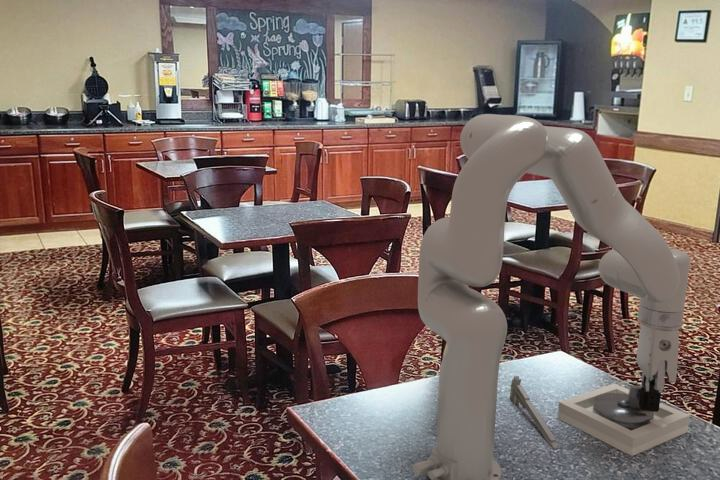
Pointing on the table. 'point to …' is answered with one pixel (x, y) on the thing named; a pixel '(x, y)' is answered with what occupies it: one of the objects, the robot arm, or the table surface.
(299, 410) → the table surface
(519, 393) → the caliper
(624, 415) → the grey round piece
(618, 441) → the tray
